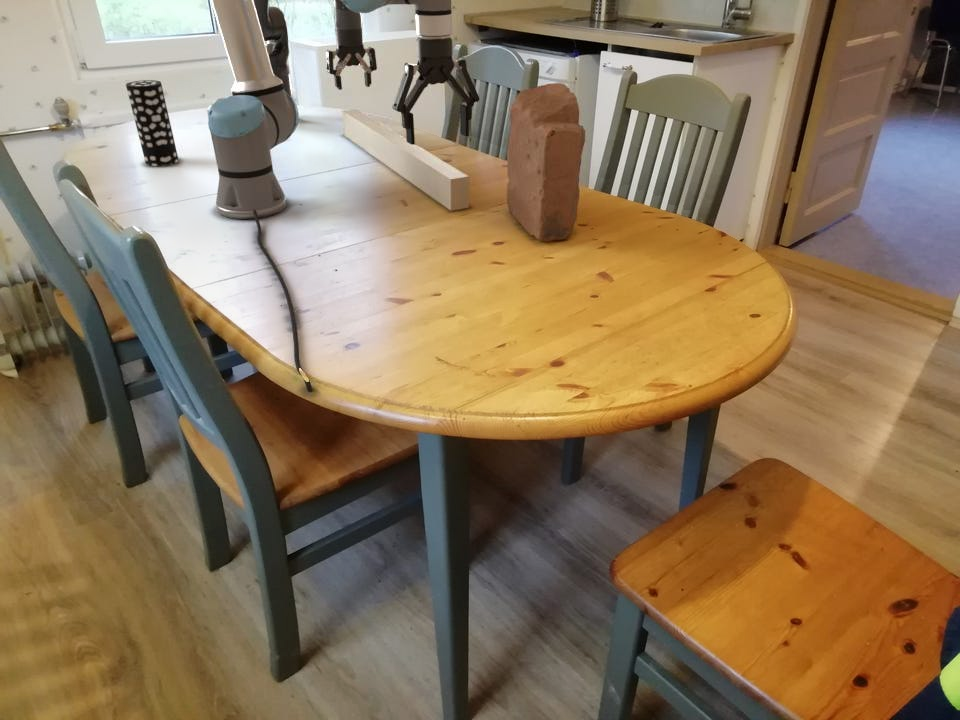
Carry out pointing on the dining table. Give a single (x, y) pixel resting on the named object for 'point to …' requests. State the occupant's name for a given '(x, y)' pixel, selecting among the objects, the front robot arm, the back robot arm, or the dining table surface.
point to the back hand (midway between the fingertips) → (353, 87)
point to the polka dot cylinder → (152, 122)
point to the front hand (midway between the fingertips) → (438, 139)
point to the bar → (408, 160)
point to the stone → (545, 160)
